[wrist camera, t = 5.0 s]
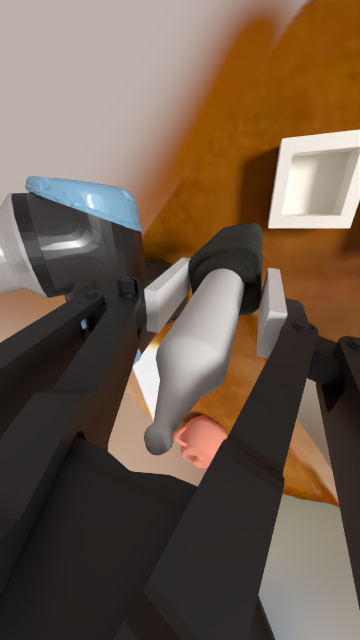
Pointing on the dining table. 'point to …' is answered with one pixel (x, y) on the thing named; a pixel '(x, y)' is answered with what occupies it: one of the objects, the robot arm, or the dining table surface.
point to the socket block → (316, 181)
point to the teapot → (200, 440)
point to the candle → (206, 327)
